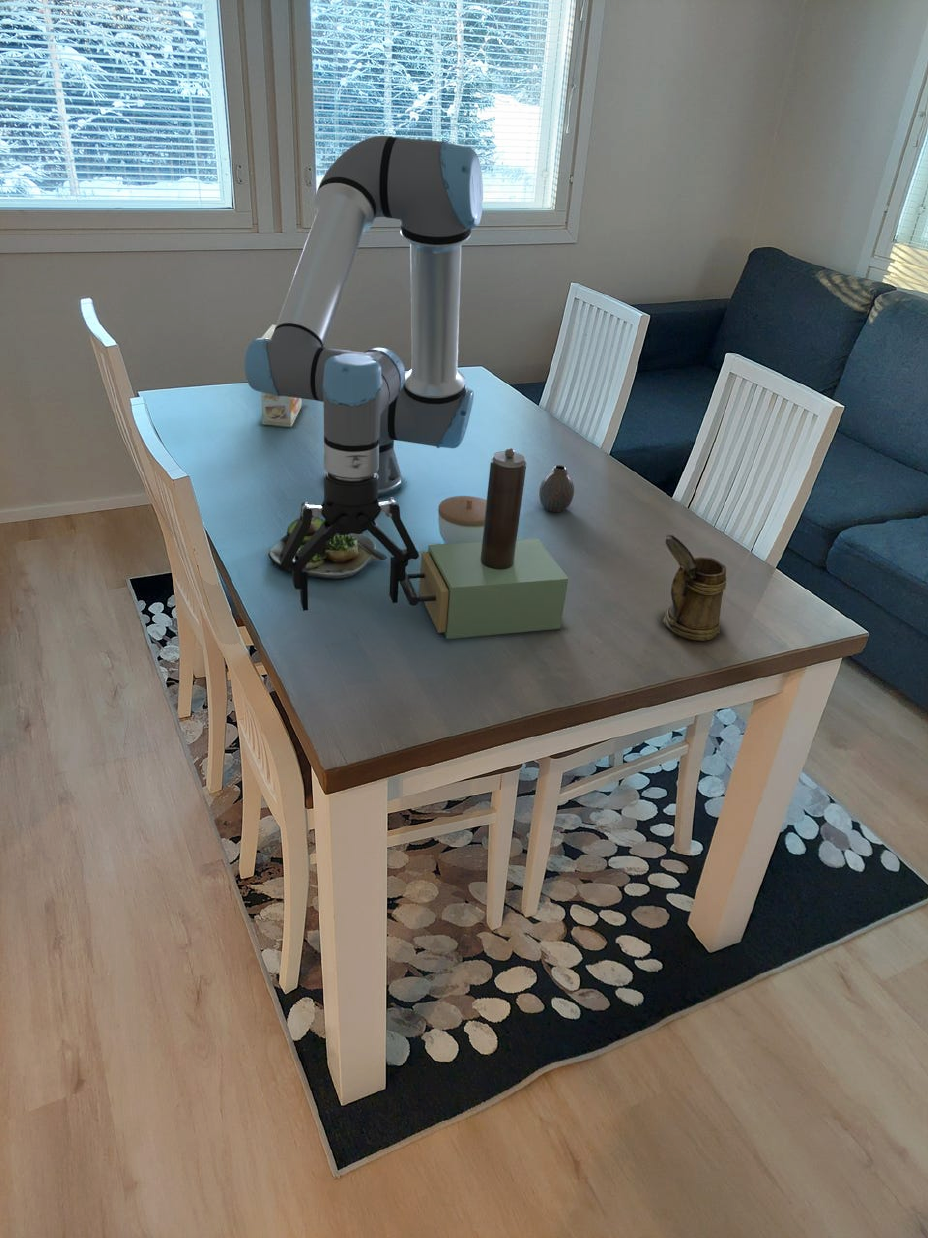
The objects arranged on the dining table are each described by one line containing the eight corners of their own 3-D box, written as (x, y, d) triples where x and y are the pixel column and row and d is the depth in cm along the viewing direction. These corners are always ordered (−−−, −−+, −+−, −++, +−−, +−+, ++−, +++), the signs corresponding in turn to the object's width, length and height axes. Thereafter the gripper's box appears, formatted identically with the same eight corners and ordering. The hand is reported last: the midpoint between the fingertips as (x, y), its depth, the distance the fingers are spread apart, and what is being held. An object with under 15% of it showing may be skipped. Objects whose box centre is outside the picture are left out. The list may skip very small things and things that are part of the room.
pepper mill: (476, 554, 136) (487, 442, 126) (507, 552, 137) (521, 441, 127) (486, 570, 132) (498, 455, 122) (518, 568, 133) (533, 454, 123)
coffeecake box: (291, 427, 201) (289, 342, 191) (261, 425, 201) (257, 339, 191) (302, 406, 214) (301, 326, 203) (274, 404, 214) (271, 323, 203)
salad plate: (403, 547, 155) (404, 524, 153) (364, 593, 141) (364, 568, 138) (305, 525, 159) (304, 502, 157) (257, 568, 145) (255, 543, 142)
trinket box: (501, 541, 161) (506, 494, 156) (483, 566, 152) (489, 517, 147) (447, 528, 163) (451, 482, 158) (427, 552, 154) (430, 504, 149)
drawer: (410, 635, 130) (413, 593, 126) (393, 593, 140) (394, 553, 136) (545, 623, 136) (551, 583, 132) (519, 583, 146) (524, 545, 142)
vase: (569, 517, 172) (576, 476, 167) (535, 512, 173) (540, 471, 168) (572, 503, 178) (579, 463, 173) (539, 498, 178) (545, 458, 174)
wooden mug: (630, 622, 140) (652, 522, 130) (694, 607, 146) (719, 510, 136) (665, 652, 133) (690, 548, 124) (730, 634, 139) (760, 535, 130)
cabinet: (447, 639, 131) (451, 587, 127) (425, 593, 142) (428, 544, 137) (560, 628, 137) (568, 578, 132) (530, 585, 147) (537, 538, 143)
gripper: (262, 486, 113) (268, 622, 124) (445, 478, 120) (435, 608, 131) (256, 463, 119) (263, 596, 130) (431, 457, 126) (423, 583, 137)
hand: (349, 602), depth 131 cm, fingers open, 13 cm apart
